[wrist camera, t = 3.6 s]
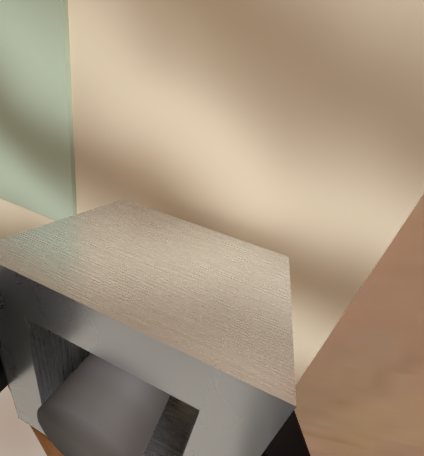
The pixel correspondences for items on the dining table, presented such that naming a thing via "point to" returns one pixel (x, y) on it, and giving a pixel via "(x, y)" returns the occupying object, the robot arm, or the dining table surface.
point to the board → (213, 150)
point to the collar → (153, 322)
